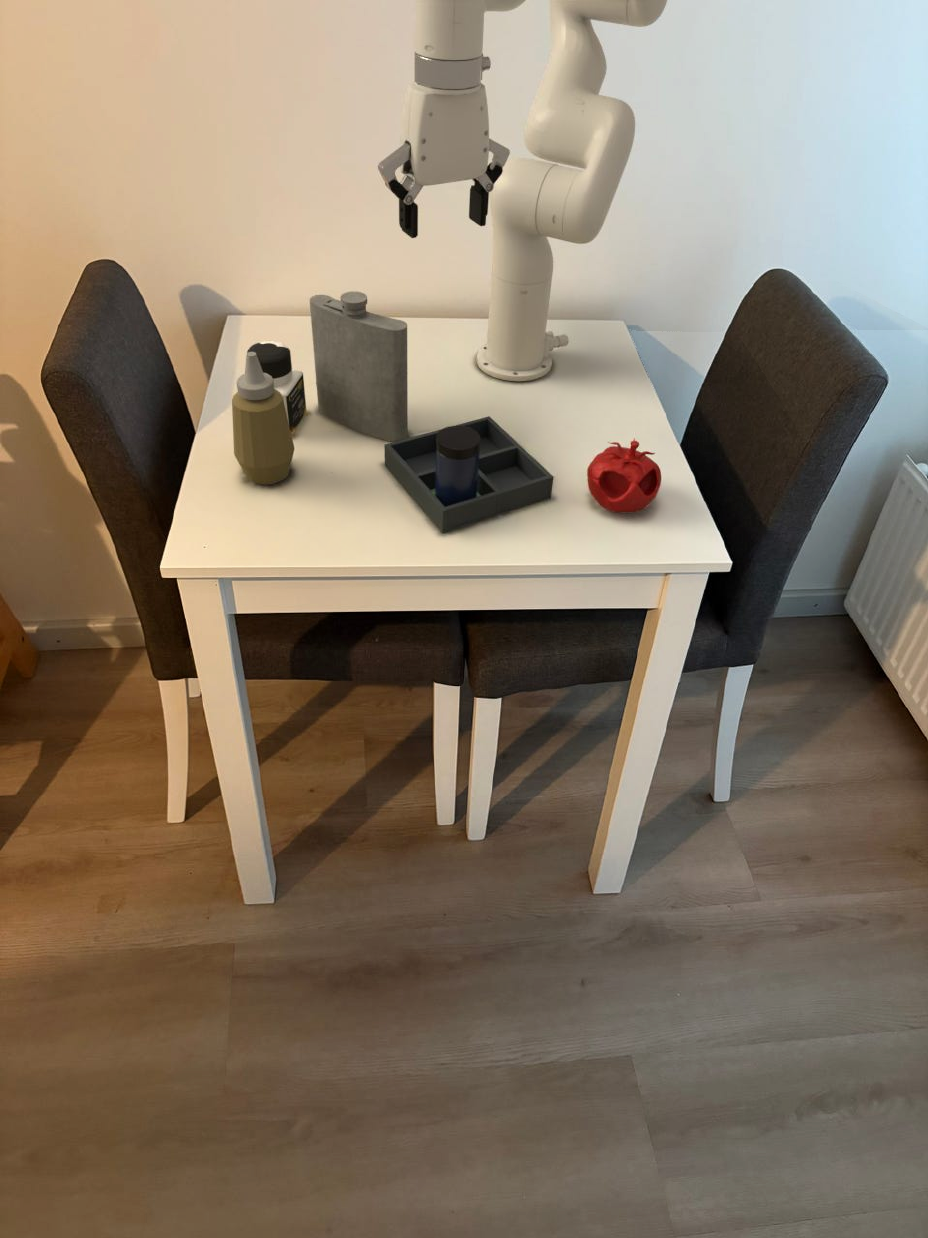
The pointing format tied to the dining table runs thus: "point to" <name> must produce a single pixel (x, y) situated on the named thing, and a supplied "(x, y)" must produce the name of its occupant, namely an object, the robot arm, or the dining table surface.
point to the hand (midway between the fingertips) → (443, 228)
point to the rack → (501, 476)
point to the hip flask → (360, 366)
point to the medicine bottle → (283, 378)
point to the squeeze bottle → (260, 426)
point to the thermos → (456, 464)
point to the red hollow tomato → (623, 478)
